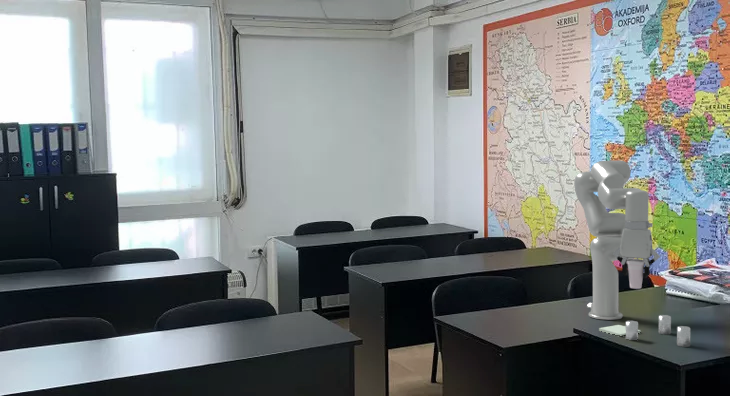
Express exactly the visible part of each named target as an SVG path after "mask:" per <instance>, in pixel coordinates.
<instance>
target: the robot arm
mask: <svg viewBox="0 0 730 396" xmlns="http://www.w3.org/2000/svg"><path fill="white" fill-rule="evenodd" d="M630 177H631V167H630V165H629V164H628V163H627V162H626V161H624V160H600V161H597V162H595V163H593V165H592V166H591V168H590V171H584V172H583V171H582V172H579V173H578V174H577V175H576V176H575V177H574V182H573V184H574V186H573V187H574V192H575V195H576V198H577V200H578V201H579V203H580V205H581V207H582V209H583V213H584V216H585V219H586V224H587V227H588V231H589V233H590V235H592V236H593V237H595V238H593V239H592V240H591V241H590V245H589V250H590V255H591V262H592V263H591V264H592V302H589V303H588V304H587V305H586V308H587V309H590V311H589V312H588V317H590V318H593V319H597V320H604V321H605V320H607V321H608V320H609V321H612V320H621V319H622V318H623V316H624V315H623V313H621V312H619V271H618V268H617V267H616V266H615V265H614V263H613V262H614V261H615V262H616V261H618V262H619V263H620V264H621V266H622V268H621V272H622V274H623V277H627V276H629V274H628V265H627V263H626V260H628V259H637V258H638V259H642V260H644V262H645V265H644V273H643V278H645V279H647V278H648V277H649V276H650V274H651V273H650V271H651V266H652V265H653V264H654V263H655V262H657V260H658V259H659V258H661V255H659V254H658V253H657V251H655V250H654V248H653V237H652V231H651V229H649V228H653V223H651V222H649V201H650V200H649V193H648V191H646V190H642V189H641V188H638V187H629V188H628V187H624V186H625V184H626V183H627V182H628V181H630V180H629V179H630ZM623 187H624V188H623ZM596 193H597V194H596ZM607 209H609V210H625V211H624V212H623V213H622V212H609V211H608V210H607ZM651 257H653V258H652V259H650V258H651Z"/></svg>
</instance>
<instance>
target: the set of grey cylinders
mask: <svg viewBox="0 0 730 396" xmlns="http://www.w3.org/2000/svg"><path fill="white" fill-rule="evenodd" d="M625 326H626V336H625V340H626V339H629V340H637V339H638V340H639V334H638V330H639V322H638V321H635V320H626V321H625ZM658 334H661V335H671V334H672V316H671V315H668V314H659V315H658ZM629 340H628V341H629ZM638 340H637V341H638ZM676 345H677V346H678V347H681V348H689V347H691V327H690V326H685V325H679V326H676Z"/></svg>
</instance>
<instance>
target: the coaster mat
mask: <svg viewBox="0 0 730 396" xmlns="http://www.w3.org/2000/svg"><path fill="white" fill-rule="evenodd" d="M601 331H602V332H601ZM598 332H601V333H604V332H606V333H605V334H608V333H610V334H609V335H612V334H615V335H620V336H622V335H626V325H621V324H615V325H611V326H604V327H599V328H598ZM640 332H642V331H641V329H638V333H639V334H641V333H640ZM615 335H614V336H615Z"/></svg>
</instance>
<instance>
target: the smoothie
mask: <svg viewBox="0 0 730 396" xmlns="http://www.w3.org/2000/svg"><path fill="white" fill-rule="evenodd" d="M626 263H627V265H628V281H629V288H630V289H639V290H640V289H642V287H643V285H642V284H643V278H644V267H645V262H644V260H643V259H640V258H634V259H628V260H626Z"/></svg>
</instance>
